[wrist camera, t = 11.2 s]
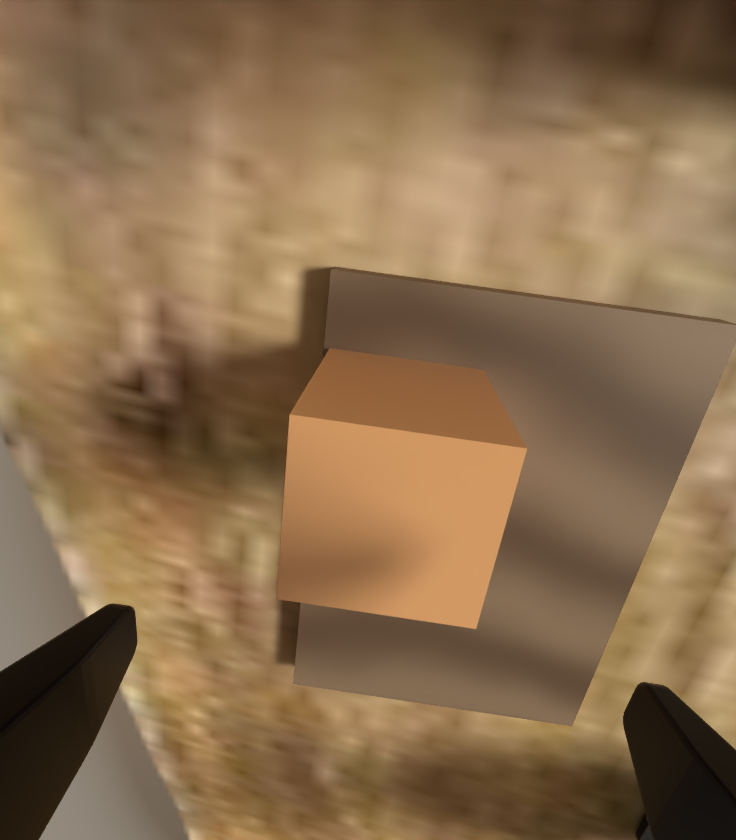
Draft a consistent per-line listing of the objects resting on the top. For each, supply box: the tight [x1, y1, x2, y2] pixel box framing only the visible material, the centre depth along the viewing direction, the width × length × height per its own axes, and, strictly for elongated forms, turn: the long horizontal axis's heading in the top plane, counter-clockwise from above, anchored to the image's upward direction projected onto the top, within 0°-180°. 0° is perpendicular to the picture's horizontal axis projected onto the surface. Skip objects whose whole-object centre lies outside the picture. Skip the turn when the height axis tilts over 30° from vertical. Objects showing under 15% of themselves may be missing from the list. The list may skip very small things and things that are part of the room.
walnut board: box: [293, 267, 736, 726], centre depth 20 cm, size 20×14×1 cm
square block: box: [277, 348, 527, 629], centre depth 15 cm, size 6×6×7 cm
